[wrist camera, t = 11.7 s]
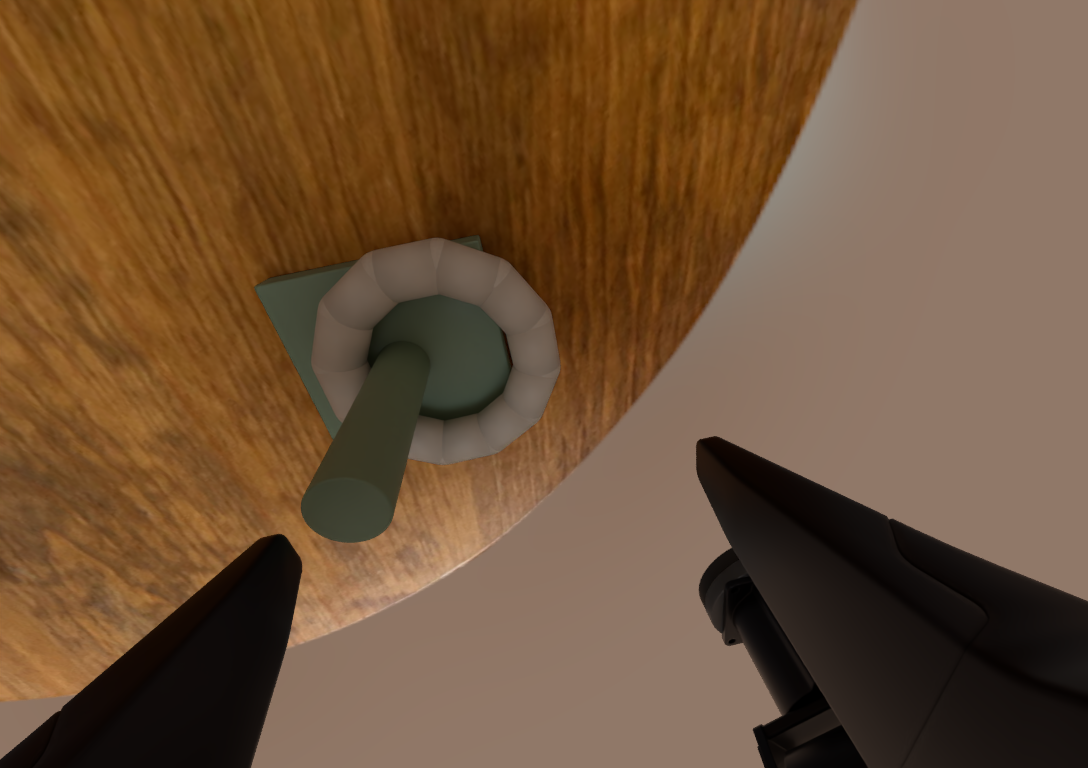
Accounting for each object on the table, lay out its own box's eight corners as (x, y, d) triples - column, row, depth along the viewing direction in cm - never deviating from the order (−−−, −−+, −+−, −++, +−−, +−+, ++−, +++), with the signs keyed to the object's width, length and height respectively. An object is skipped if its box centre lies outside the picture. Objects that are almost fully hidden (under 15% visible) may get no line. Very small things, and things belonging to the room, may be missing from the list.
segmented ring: (569, 421, 19) (577, 444, 17) (374, 464, 19) (364, 492, 17) (531, 213, 15) (537, 220, 13) (279, 266, 15) (254, 279, 13)
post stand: (521, 410, 20) (547, 583, 12) (352, 447, 20) (260, 649, 12) (479, 234, 16) (474, 312, 8) (267, 278, 16) (42, 403, 8)
